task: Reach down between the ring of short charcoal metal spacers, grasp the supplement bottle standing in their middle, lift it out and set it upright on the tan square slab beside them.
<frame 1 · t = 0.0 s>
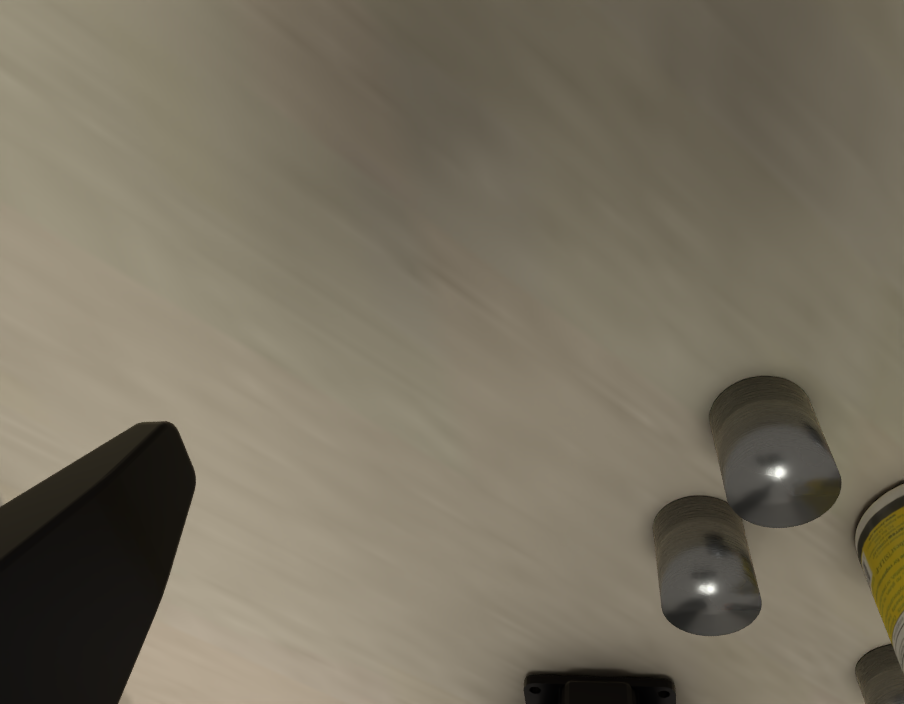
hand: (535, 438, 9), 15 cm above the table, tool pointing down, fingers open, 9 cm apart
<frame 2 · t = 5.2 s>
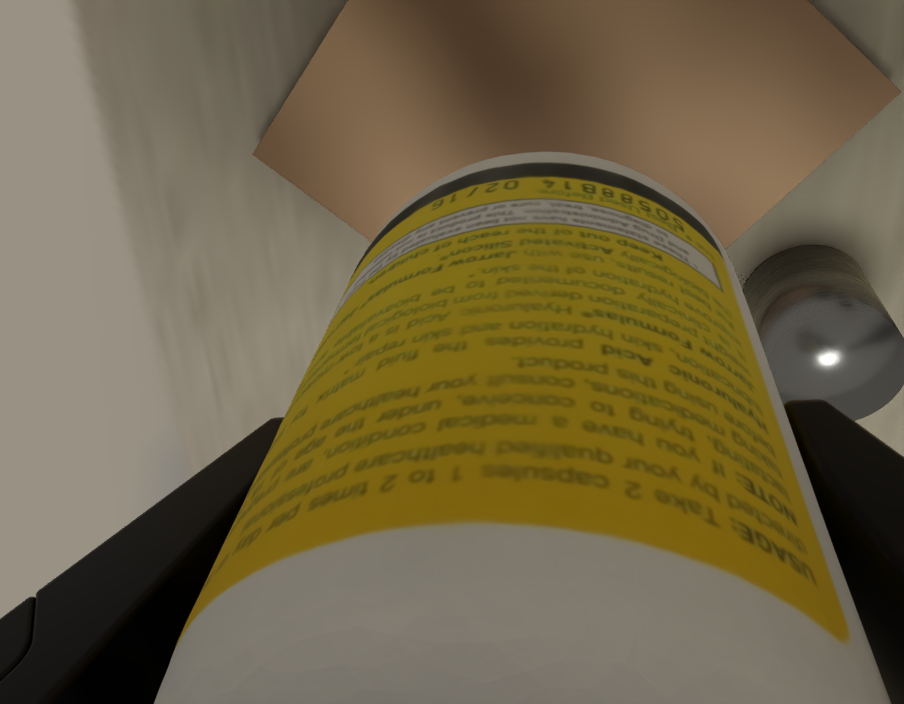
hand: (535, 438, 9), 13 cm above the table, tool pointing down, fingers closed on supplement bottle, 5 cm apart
tan square slab: (552, 115, 20), on the table
supplement bottle: (540, 319, 11), point 10 cm above the table, touching gripper
when the fingers open (5 cm above the table, at t = 7.4 s): supplement bottle drops 2 cm, resting on tan square slab.
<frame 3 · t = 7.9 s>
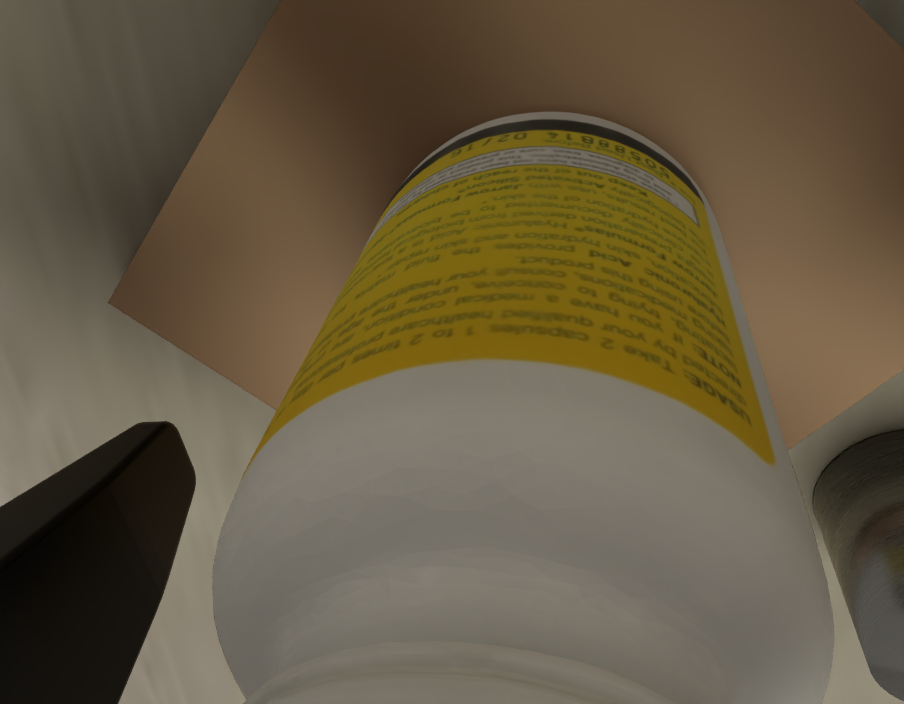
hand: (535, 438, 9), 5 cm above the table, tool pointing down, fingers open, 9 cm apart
tan square slab: (546, 251, 13), on the table
supplement bottle: (545, 268, 13), point 1 cm above the table, touching tan square slab
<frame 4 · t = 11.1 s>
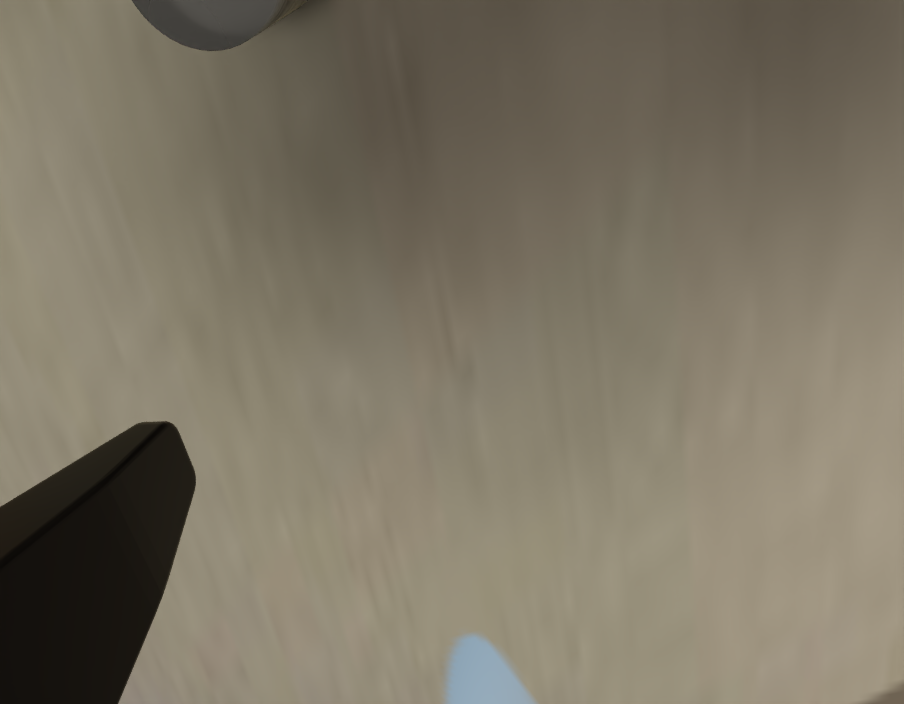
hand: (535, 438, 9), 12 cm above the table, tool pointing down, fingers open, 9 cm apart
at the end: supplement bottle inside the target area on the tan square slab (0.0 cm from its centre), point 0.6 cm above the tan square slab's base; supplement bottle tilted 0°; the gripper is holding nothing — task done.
